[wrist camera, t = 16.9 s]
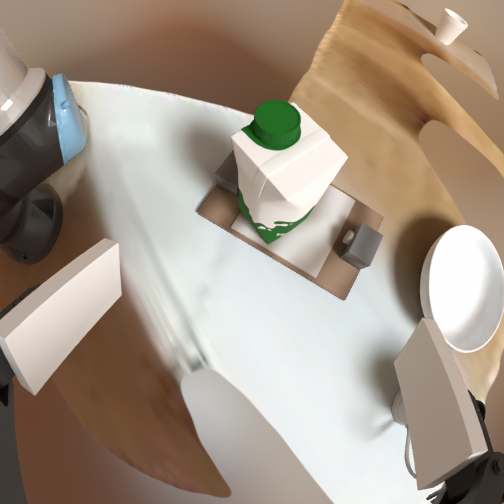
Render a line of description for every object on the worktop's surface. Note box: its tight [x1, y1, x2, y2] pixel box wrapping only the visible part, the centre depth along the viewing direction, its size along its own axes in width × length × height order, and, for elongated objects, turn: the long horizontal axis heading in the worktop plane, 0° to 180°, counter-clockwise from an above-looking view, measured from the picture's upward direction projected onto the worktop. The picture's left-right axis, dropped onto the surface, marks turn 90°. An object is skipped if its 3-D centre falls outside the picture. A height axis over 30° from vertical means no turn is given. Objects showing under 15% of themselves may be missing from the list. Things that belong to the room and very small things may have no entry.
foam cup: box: [435, 9, 468, 45], centre depth 53 cm, size 10×9×13 cm
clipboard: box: [198, 150, 384, 300], centre depth 40 cm, size 25×15×5 cm, turn 59°
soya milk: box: [231, 100, 348, 244], centre depth 31 cm, size 9×9×20 cm
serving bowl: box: [420, 225, 504, 353], centre depth 38 cm, size 21×21×7 cm
